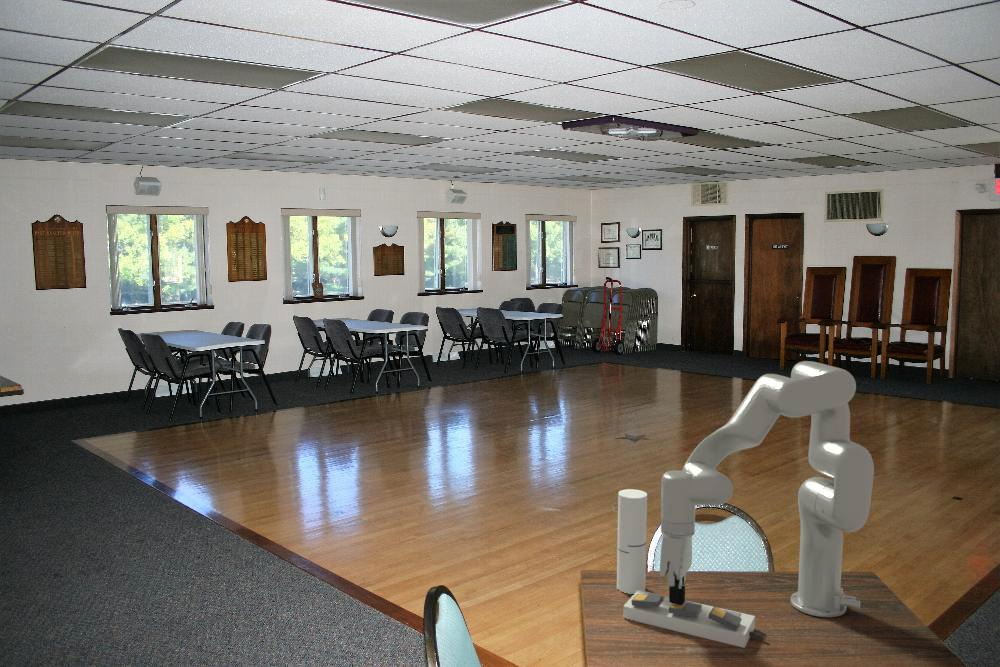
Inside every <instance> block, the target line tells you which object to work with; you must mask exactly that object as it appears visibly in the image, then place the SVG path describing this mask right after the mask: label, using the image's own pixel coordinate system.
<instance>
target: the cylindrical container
mask: <svg viewBox="0 0 1000 667" xmlns="http://www.w3.org/2000/svg"><path fill="white" fill-rule="evenodd" d="M617 495H618V496H617V550H616V552H617V555H616V556H617V558H616V560H617V561H616V590H617V589H619V590H620V591H622V592H624V593H628V594H635V593H636V591H637V590H641V591H646V571H647V570H646V569H647V568H646V566H647V527H648V526H647V522H648V521H647V520H648V519H647V518H648V493H647V492H646V491H644V490H641V489H632V488H627V489H622V490H619V491H618V494H617ZM620 591H619V592H620ZM624 593H623V594H624ZM628 594H627V595H628Z"/></svg>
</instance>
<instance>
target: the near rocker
mask: <svg viewBox="0 0 1000 667" xmlns="http://www.w3.org/2000/svg"><path fill="white" fill-rule="evenodd" d="M720 608H721V607H717V606H713V609H712V610H711V612H710V613H709V616H708V618H709V619H711V620H714V621H716V622H718V623H720V624H722V625H724V626H727V627H729V628H731V629H733V630H735V631H736V630H737V628H738V627H739V625H740V623H741V620H742V618H740V617H737V616H735V615H733V614H731V613H728V612H726V611H724V610H722V609H723V608H722V609H720Z"/></svg>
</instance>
